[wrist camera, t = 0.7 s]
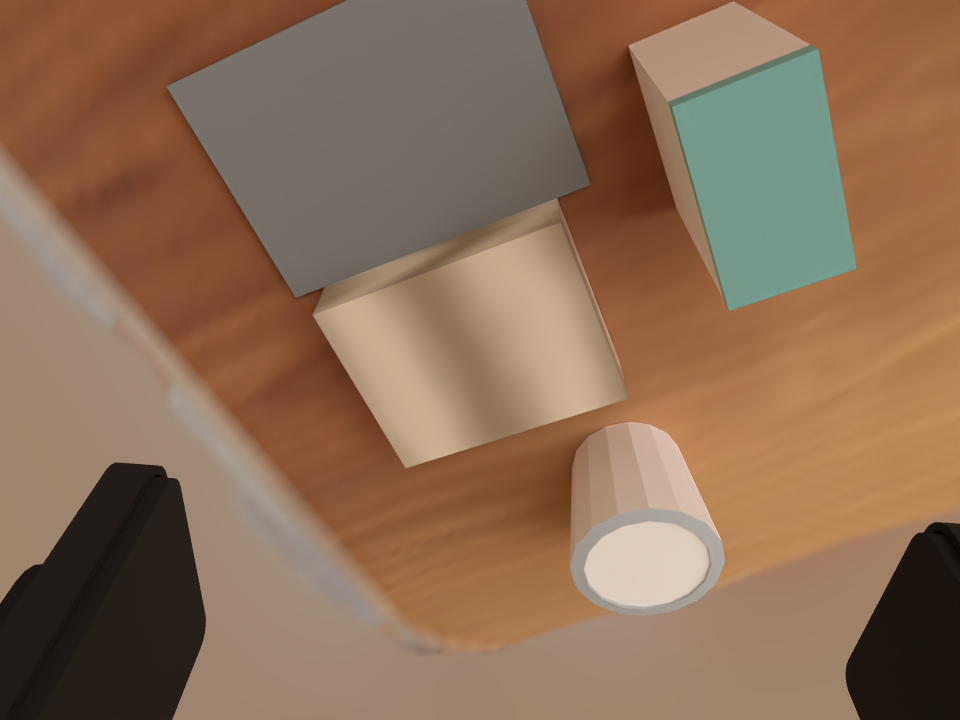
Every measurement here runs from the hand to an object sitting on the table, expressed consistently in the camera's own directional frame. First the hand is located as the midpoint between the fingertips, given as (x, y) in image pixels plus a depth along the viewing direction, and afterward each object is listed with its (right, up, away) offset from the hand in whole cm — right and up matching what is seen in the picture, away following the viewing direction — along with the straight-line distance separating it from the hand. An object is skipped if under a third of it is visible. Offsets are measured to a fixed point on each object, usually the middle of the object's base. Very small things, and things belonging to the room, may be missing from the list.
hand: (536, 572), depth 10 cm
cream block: (+8, +13, +20) cm, 25 cm away
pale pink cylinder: (+7, -3, +30) cm, 31 cm away
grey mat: (-5, +12, +21) cm, 25 cm away
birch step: (-1, +4, +26) cm, 26 cm away
